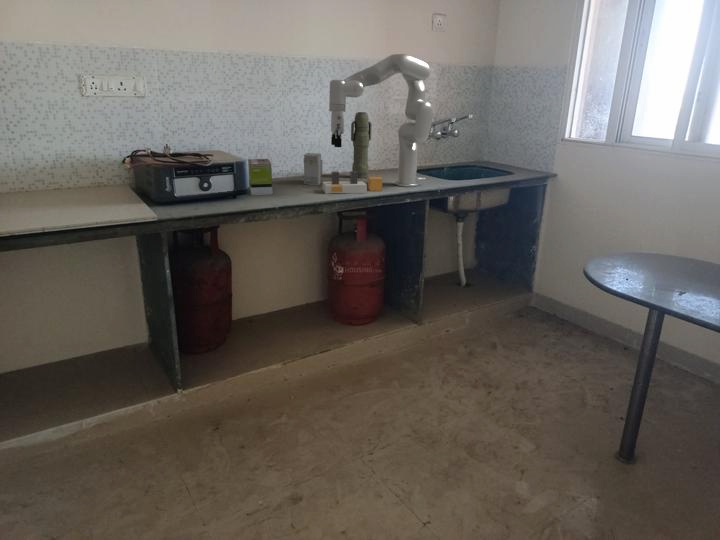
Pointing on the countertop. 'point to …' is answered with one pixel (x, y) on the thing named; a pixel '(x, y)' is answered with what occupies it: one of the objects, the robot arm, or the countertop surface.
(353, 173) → the plain toggle
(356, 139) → the thermos
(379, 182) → the orange cube
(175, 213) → the countertop surface
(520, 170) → the countertop surface
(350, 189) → the breaker panel
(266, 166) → the tea box
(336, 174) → the tagged toggle
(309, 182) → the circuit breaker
